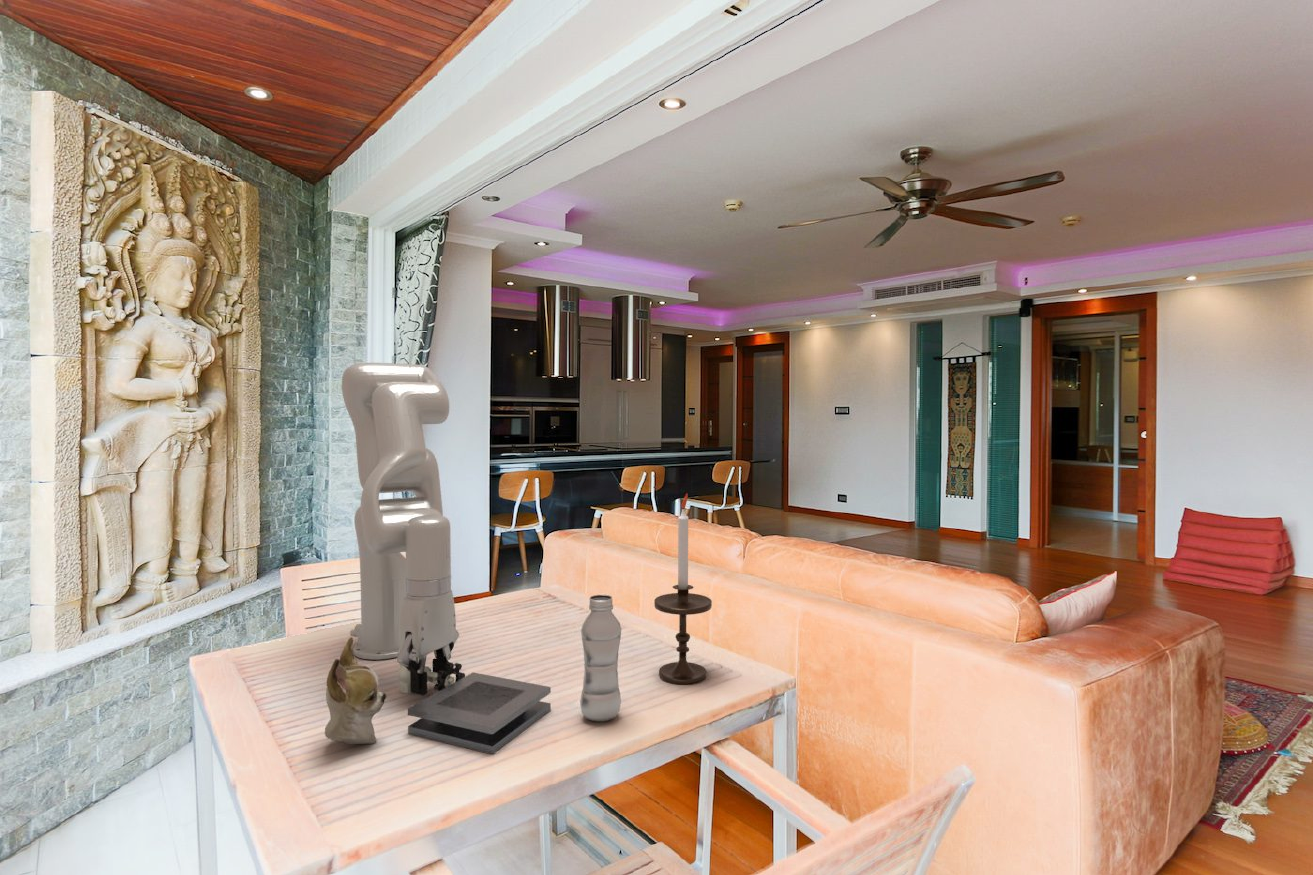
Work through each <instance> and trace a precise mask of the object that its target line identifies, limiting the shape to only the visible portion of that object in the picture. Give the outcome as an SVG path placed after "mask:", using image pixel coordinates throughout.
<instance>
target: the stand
mask: <svg viewBox="0 0 1313 875" xmlns="http://www.w3.org/2000/svg"><path fill="white" fill-rule="evenodd" d="M551 688H552V687H551V686H547V685H543V684H542V685H541V684H536V683H531V682H525V681H520V680H515V679H510V678H504V677H501V676H500V677H499V676H494V675H489V674H484V673H480V672H479V673H477V672H474V671H473V672H471V673H469V674H468V675H465V677H464V678H462V679H460V680H458V681H457V682H455V681H454V683H453V684H451V685H449V686H447V687H446V688H444V689H442V690H440V691H437V692H435V693H433V694H432V695H430V696H428V697H426V698H425V699H422V700H421V701H419V702H417V703H416V704H414V705H412V706H410V707H408V708H407V716H411V717H415V718H419V719H418V720H415V721H414V722H413V723H411V724H409V725H408V726H407V734H408V735H412V736H416V737H420V738H424V739H428V740H430V741H431V740H433V741H436V742H440V743H443V744H444V743H445V744H449V745H452V746H456V747H461V748H465V749H469V750H473V751H477V752H481V753H485V754H489V755H494V754H495V753H497V752H498V751H499V750H500V749H502V748H503V747H504V746H506V745H508V744H509V743H510V742H511V741H512V740H514V739H515V738H516V737H518V736H519V735H520V734H521V733H523V732H524V731H526V729H528V728H529V727H531V726H532V725H533V724H535V723H536V722H538V721H539V720H540V719H541V718H542V717H544V716H545V715H546V714H548V713H549V712H551V709H552V707H551V703H550V702H544V701H542V700H543V699H544V698H546V697H547V696H549V695H550V694H551V691H552V690H551Z"/></svg>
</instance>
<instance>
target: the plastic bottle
mask: <svg viewBox="0 0 1313 875" xmlns="http://www.w3.org/2000/svg"><path fill="white" fill-rule="evenodd" d="M588 609H589V610H590V612H589V614H588V615H587V616H586V618H585V619H584V622H583V624H582V627H581V630H580V632H581V633H580V634H581V641H582V649H583V661H584V671H583V672H584V673H583V684H582V690H581V695H580V701H579V702H580V709H581V710H580V711H581V713H582V715H583V716H584V718H585V719H587V720H590V721H592V722H593V721H594V722H606V721H610V720H612V719H614V718H616V717H617V715H619V712H620V710H621V704H622V698H621V697H622V696H621V692H620V688H619V687H620V685H619V673H618V661H619V648H620V644H621V635H622V626H621V623H620V621H619V620H618V618H617V617H616V615H615V614H614V612H612V610H613V609H614V604H613V596H611V595H610V594H609V595H608V594H597V595H596V594H594V595H591V596H590V597H589V606H588Z"/></svg>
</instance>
